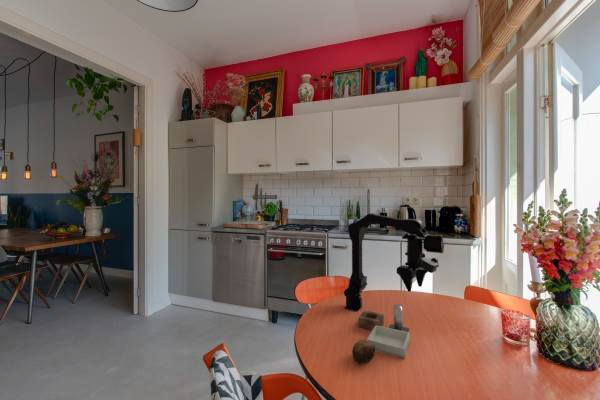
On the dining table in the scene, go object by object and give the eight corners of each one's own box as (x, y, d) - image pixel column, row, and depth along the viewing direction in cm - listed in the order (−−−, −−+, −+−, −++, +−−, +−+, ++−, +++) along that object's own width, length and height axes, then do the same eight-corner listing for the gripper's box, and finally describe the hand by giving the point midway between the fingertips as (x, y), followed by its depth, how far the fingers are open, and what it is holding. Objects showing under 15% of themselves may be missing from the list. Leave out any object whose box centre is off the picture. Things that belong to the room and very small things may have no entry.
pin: (393, 330, 102) (393, 306, 102) (394, 327, 105) (394, 304, 105) (401, 332, 101) (401, 308, 101) (403, 328, 103) (402, 305, 103)
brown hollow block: (358, 327, 105) (358, 317, 105) (364, 319, 112) (364, 310, 112) (379, 332, 102) (379, 322, 102) (383, 324, 108) (383, 314, 108)
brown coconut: (382, 346, 86) (371, 331, 85) (381, 369, 79) (369, 354, 78) (360, 351, 90) (350, 338, 89) (358, 374, 83) (346, 359, 82)
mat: (386, 332, 102) (386, 331, 102) (390, 324, 108) (390, 323, 108) (406, 337, 98) (406, 335, 98) (409, 328, 104) (409, 327, 104)
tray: (366, 348, 91) (366, 339, 91) (375, 333, 101) (375, 325, 101) (404, 358, 85) (404, 349, 85) (410, 341, 95) (409, 332, 95)
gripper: (424, 256, 97) (424, 300, 97) (445, 250, 109) (444, 288, 110) (395, 252, 105) (395, 292, 105) (417, 246, 118) (417, 282, 118)
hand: (414, 288), depth 109 cm, fingers open, 9 cm apart
